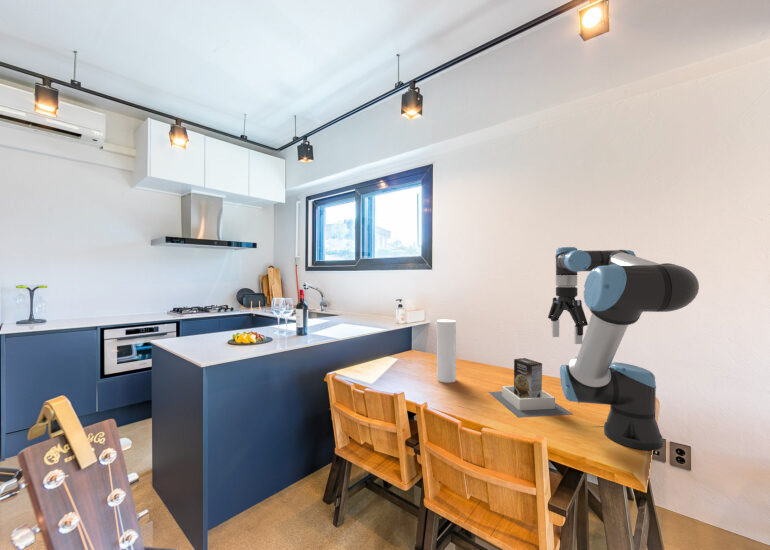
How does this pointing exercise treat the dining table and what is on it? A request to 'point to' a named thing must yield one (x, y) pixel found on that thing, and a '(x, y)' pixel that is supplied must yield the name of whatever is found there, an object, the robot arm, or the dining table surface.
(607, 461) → the dining table surface
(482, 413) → the dining table surface
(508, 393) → the tray
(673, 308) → the robot arm
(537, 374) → the coffee box
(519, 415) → the mat
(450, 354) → the cylinder container
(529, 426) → the dining table surface
